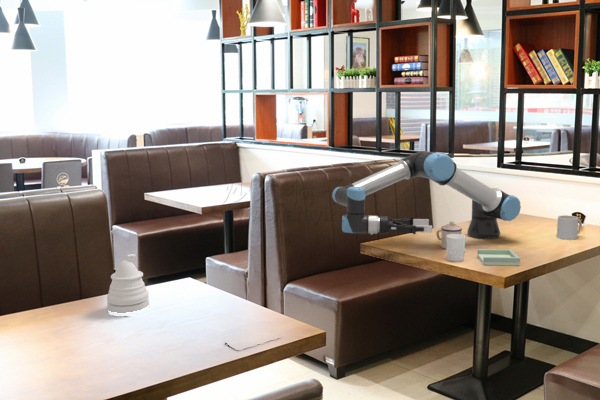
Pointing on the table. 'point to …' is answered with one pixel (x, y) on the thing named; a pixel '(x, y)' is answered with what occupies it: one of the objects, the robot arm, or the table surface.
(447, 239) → the white cup
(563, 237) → the mug
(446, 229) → the teacup with lid
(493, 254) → the green tray
